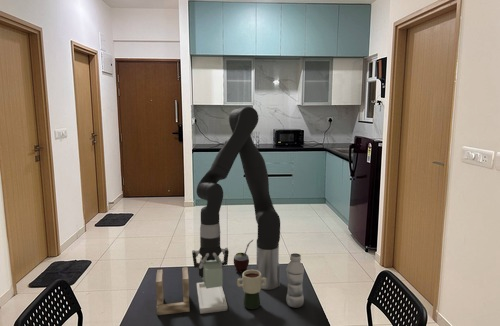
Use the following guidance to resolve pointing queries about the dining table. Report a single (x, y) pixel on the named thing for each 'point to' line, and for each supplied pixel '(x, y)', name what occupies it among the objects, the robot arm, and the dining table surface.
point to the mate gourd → (241, 261)
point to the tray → (211, 299)
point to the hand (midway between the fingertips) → (210, 275)
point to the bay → (173, 306)
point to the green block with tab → (212, 274)
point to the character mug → (251, 288)
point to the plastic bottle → (295, 281)
